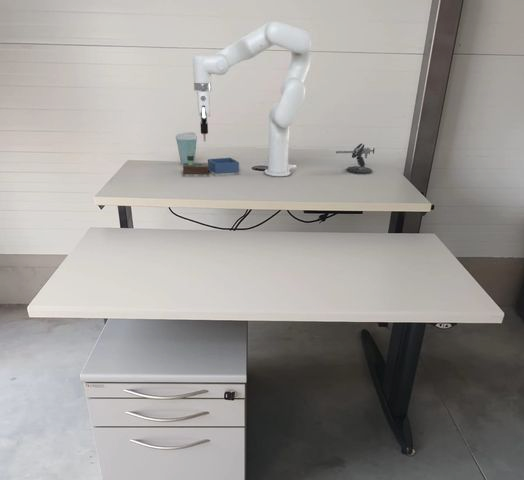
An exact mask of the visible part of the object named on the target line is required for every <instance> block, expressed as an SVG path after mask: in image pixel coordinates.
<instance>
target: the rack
mask: <svg viewBox="0 0 524 480" xmlns="http://www.w3.org/2000/svg"><path fill="white" fill-rule="evenodd" d="M182 171H183V172H182V174H183V175H209V169H208V162H195V163H194V165H188V163H183V164H182Z"/></svg>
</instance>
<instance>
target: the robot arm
mask: <svg viewBox="0 0 524 480" xmlns="http://www.w3.org/2000/svg"><path fill="white" fill-rule="evenodd" d="M312 42H313V41H312V36H311V34H310V33H309V32H308V31H307V30H306V29H305V30H304V29H301V28H300V27H296V26H294V25H290V24H288V23H285V22H283V21H280V20H270V21H268V22H266V23H264V24H262V25H261V26H259V27H257V28H256V29H253V30H252V31H251V32H249V33H247V34H245V35H244V36H243V37H241V38H239V39H238V40H237V41H235V42H233V43H231V44H229V45H228V46H226V47H224V48H223V49H221V50H220V51H218V52H217V53H214V54H213V55H208V54H195V55H193V57H192V70H193V72H192V73H193V74H192V75H193V89H194V90H193V91H194V92H196V98H197V110H198V116H199V117H200V134H201V133H207V134H209V125H208V117H211V101H210V93H211V92H212V75H217V76H223V75H225V74H226V73H228V71H229V69H230V68H232V67H233V66H235V65H237V64H239V63H241V62H244V61H247V60H251V59H253V58H255V57H256V56H258V55H260V54H261V53H263V52H265V51H266V50H268V49H270V48H272V47H273V46H278V47H280V48H282V49H286V50H288V51H290V53H291V60H290V64H289V67H288V69H287V72H286V74H285V77H284V79H283V81H282V83H281V86H280V95H281V97H280V100H279V101H276V102H274V103H273V104H272V105H271V106H270V109H269V113H268V129H269V132H268V134H269V135H268V157H267V160H268V161H267V168H266V169H265V170H264V174H265V175H267V176H271V177H287V176H290V175H291V170H296V169H297V168H298V167H297V164H290V163H289V150H290V136H291V135H290V132H291V130H290V126H291V125H293V123H294V122H295V120H296V119H297V116H298V113H299V111H300V109H301V106H302V104H303V102H304V100H305V97H306V92H307V91H306V90H307V89H306V86H305V81H306V79H307V75H308V73H309V70H310V66H311V62H312V54H311V47H312Z"/></svg>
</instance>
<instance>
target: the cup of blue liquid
mask: <svg viewBox="0 0 524 480" xmlns="http://www.w3.org/2000/svg"><path fill="white" fill-rule="evenodd" d="M197 139H198V136H197V134H196V132H193V131H191V132H190V131H189V132H187V131H186V132H181V133H177V134H176V135H175V140H176V144H177V151H178V154H179V160H180V164H181V165H183V163H188V160H187V152H193V156H194V163H196V152H197V141H198V140H197Z"/></svg>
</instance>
